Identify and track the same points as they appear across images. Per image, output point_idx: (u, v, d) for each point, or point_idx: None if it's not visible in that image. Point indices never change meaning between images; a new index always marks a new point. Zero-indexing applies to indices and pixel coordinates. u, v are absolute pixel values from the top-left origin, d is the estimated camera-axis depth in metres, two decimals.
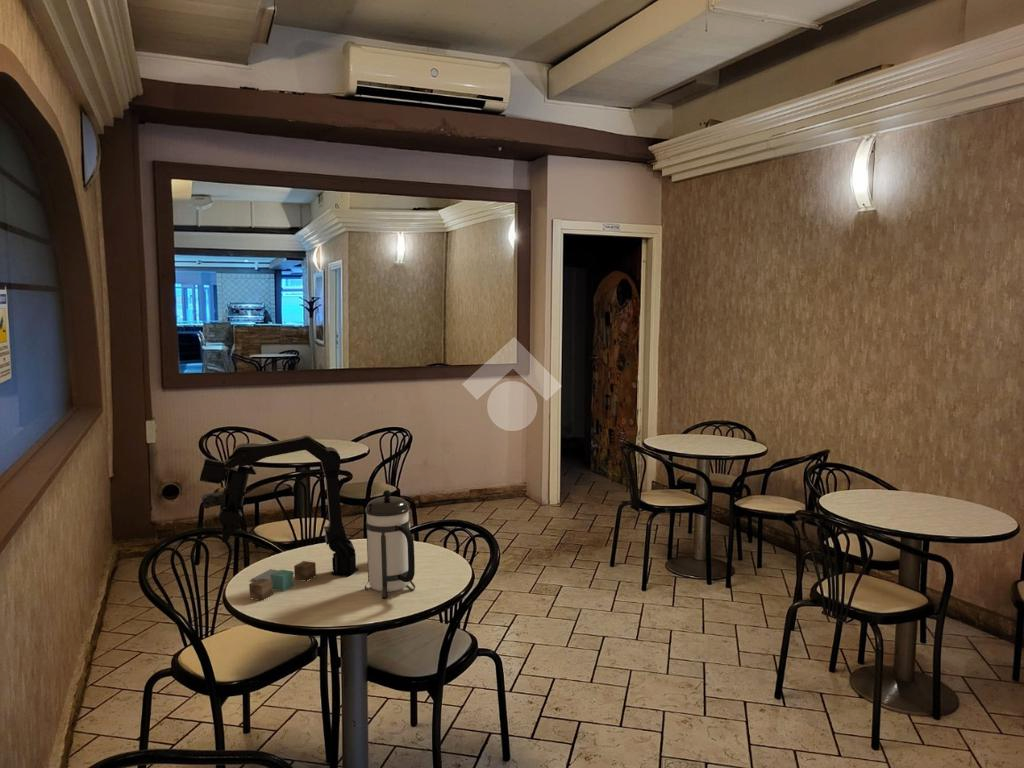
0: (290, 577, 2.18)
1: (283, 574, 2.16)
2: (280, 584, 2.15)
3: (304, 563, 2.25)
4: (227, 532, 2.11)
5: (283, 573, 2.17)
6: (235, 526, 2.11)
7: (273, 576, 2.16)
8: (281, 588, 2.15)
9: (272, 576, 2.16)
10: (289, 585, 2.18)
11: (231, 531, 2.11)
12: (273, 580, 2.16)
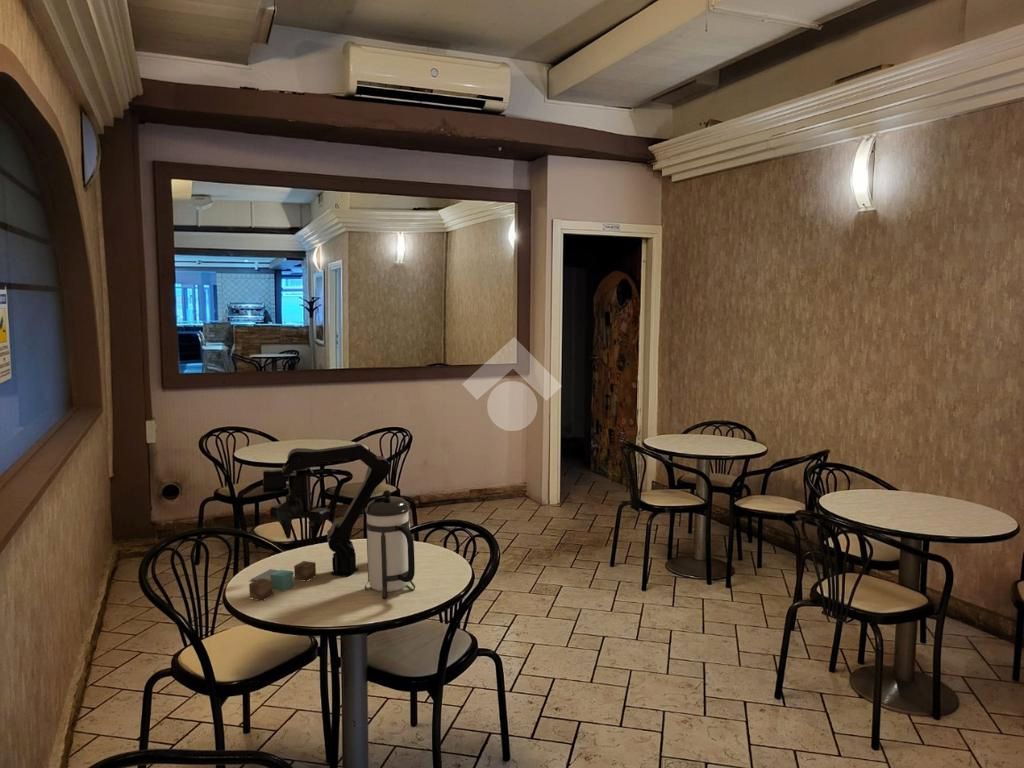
0: (290, 577, 2.18)
1: (283, 574, 2.16)
2: (280, 584, 2.15)
3: (304, 563, 2.25)
4: (316, 531, 2.22)
5: (283, 573, 2.17)
6: (321, 522, 2.23)
7: (273, 576, 2.16)
8: (281, 588, 2.15)
9: (272, 576, 2.16)
10: (289, 585, 2.18)
11: (318, 528, 2.23)
12: (273, 580, 2.16)
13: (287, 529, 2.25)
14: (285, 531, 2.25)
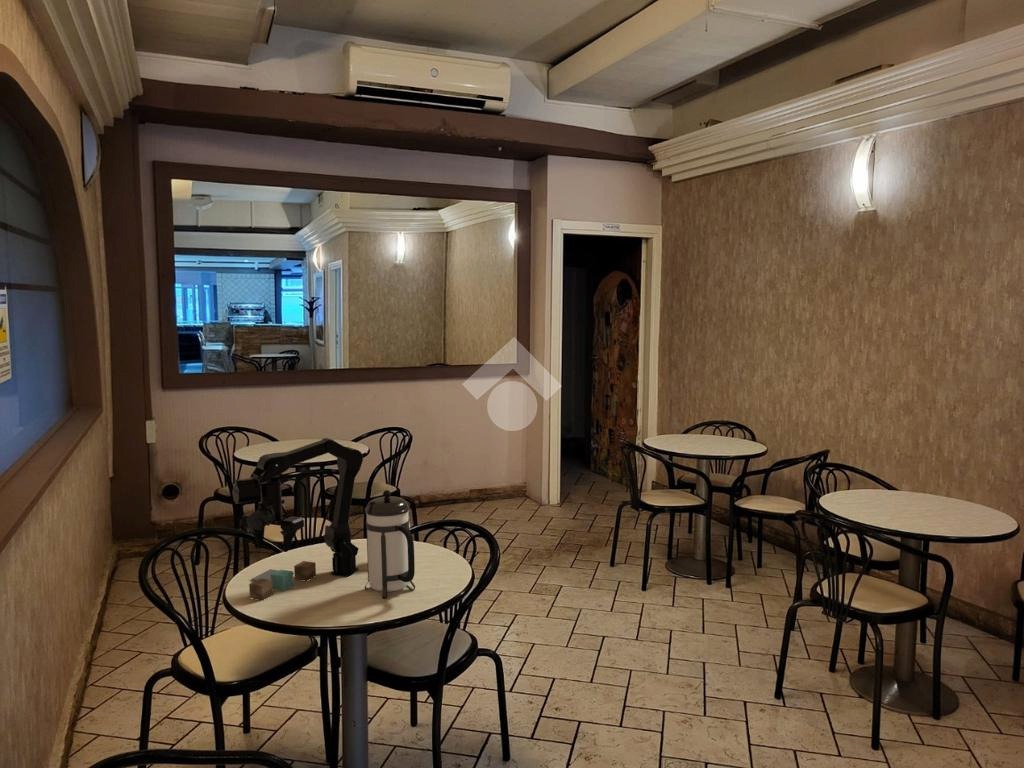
0: (290, 577, 2.18)
1: (283, 574, 2.16)
2: (280, 584, 2.15)
3: (304, 563, 2.25)
4: (289, 541, 2.12)
5: (283, 573, 2.17)
6: (295, 532, 2.13)
7: (273, 576, 2.16)
8: (281, 588, 2.15)
9: (272, 576, 2.16)
10: (289, 585, 2.18)
11: (292, 538, 2.13)
12: (273, 580, 2.16)
13: (259, 538, 2.16)
14: (257, 541, 2.15)
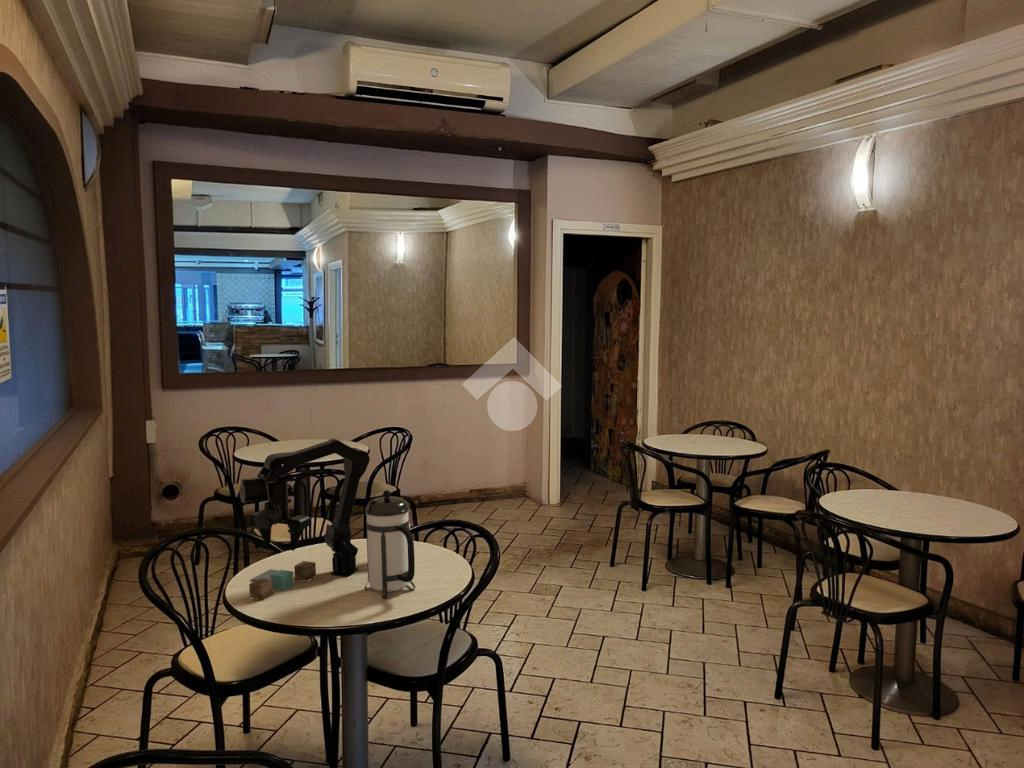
0: (290, 577, 2.18)
1: (283, 574, 2.16)
2: (280, 584, 2.15)
3: (304, 563, 2.25)
4: (296, 539, 2.15)
5: (283, 573, 2.17)
6: (302, 530, 2.16)
7: (273, 576, 2.16)
8: (281, 588, 2.15)
9: (272, 576, 2.16)
10: (289, 585, 2.18)
11: (299, 537, 2.15)
12: (273, 580, 2.16)
13: (266, 537, 2.18)
14: (264, 539, 2.17)
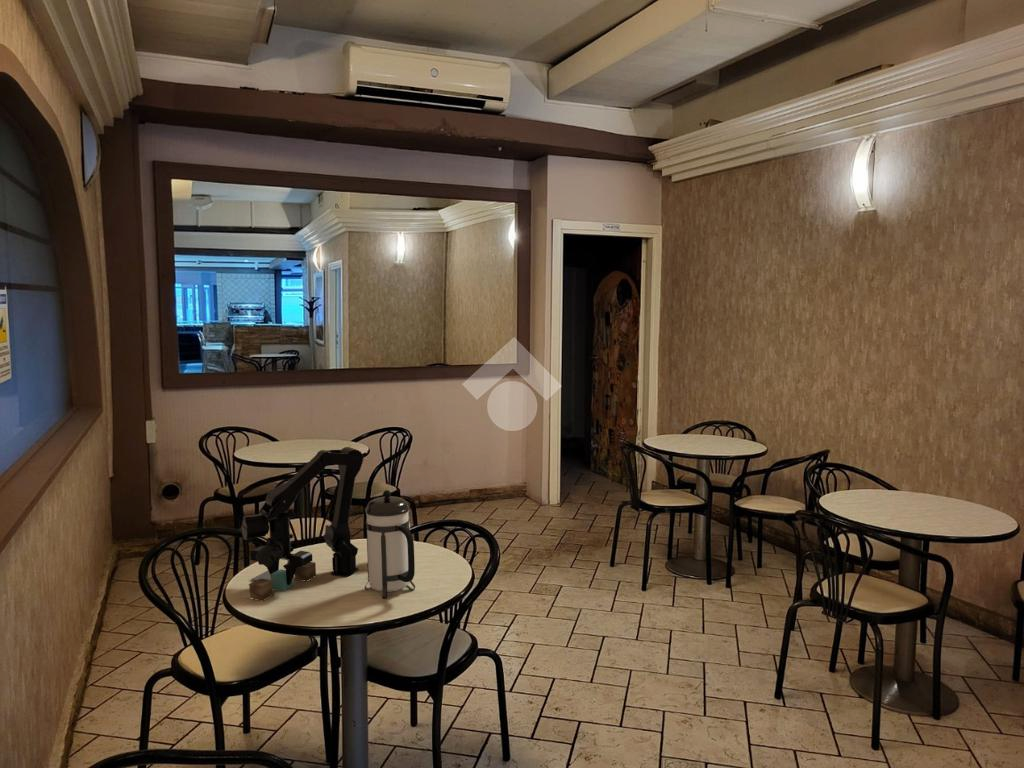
0: None
1: (283, 574, 2.16)
2: (280, 584, 2.15)
3: None
4: (292, 574, 2.17)
5: (283, 573, 2.17)
6: None
7: (273, 576, 2.16)
8: (281, 588, 2.15)
9: (272, 576, 2.16)
10: (289, 585, 2.18)
11: (294, 571, 2.17)
12: (273, 580, 2.16)
13: None
14: None
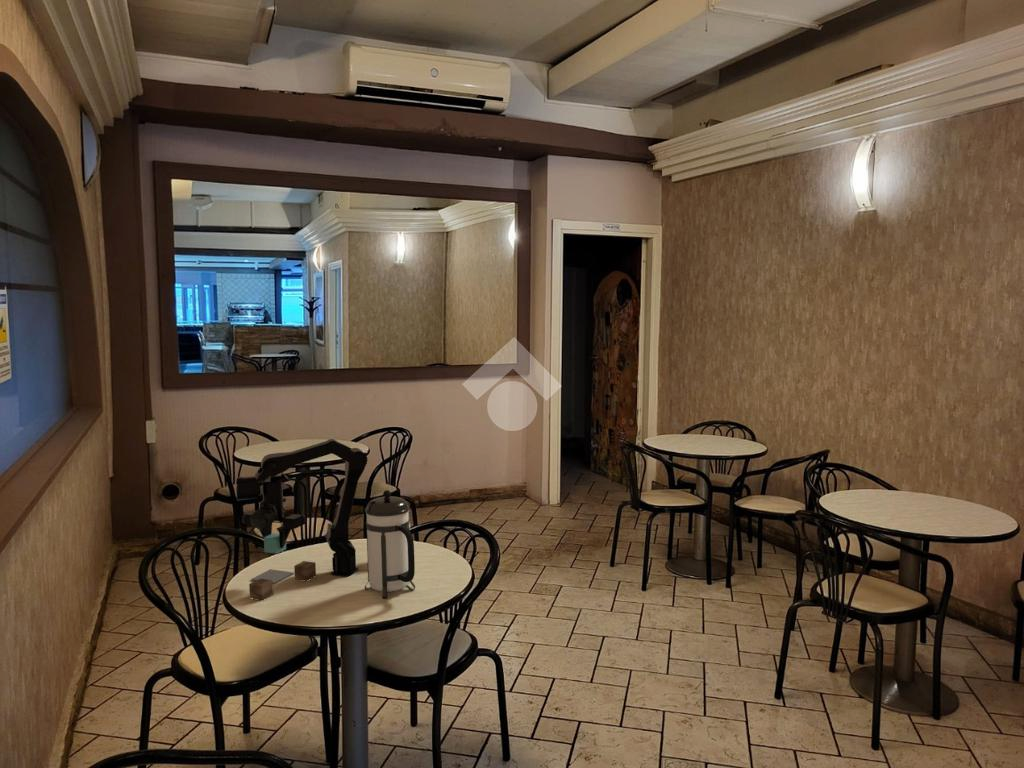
0: None
1: (276, 537, 2.19)
2: (273, 547, 2.18)
3: (304, 563, 2.25)
4: (285, 537, 2.19)
5: (276, 536, 2.20)
6: (290, 528, 2.21)
7: (266, 539, 2.19)
8: (274, 551, 2.18)
9: (265, 539, 2.19)
10: (282, 548, 2.20)
11: (287, 535, 2.20)
12: (266, 543, 2.19)
13: None
14: None
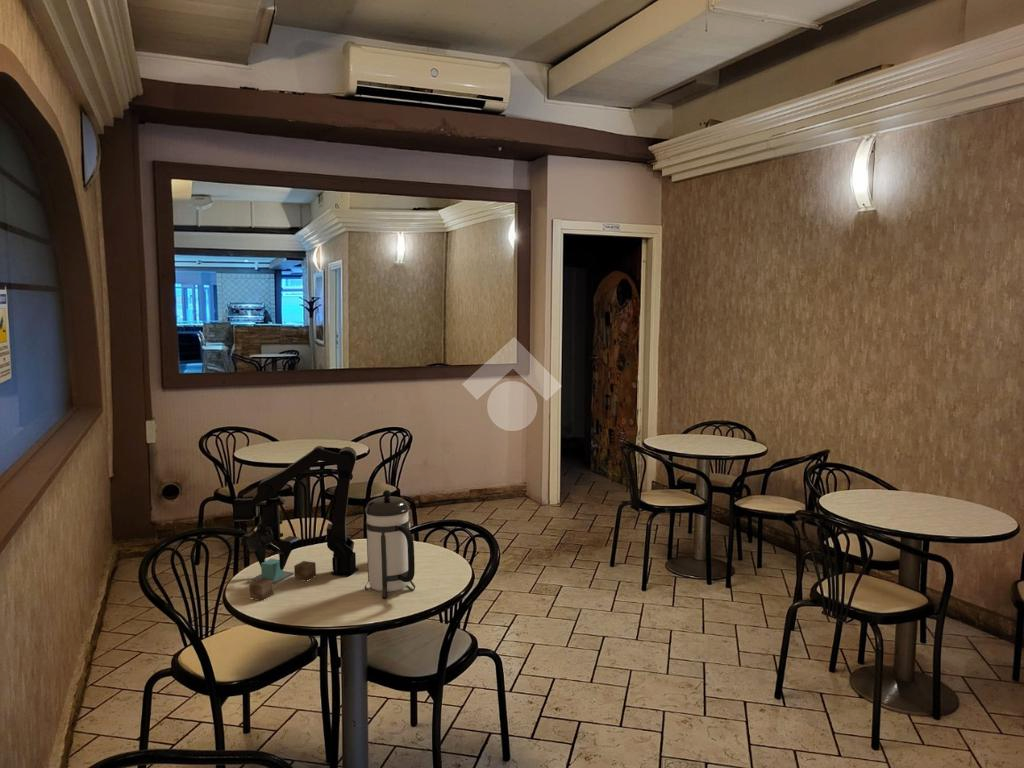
0: None
1: (273, 563, 2.24)
2: (270, 572, 2.23)
3: (304, 563, 2.25)
4: (285, 559, 2.24)
5: (273, 562, 2.25)
6: (290, 550, 2.25)
7: (263, 565, 2.24)
8: (271, 576, 2.23)
9: (262, 565, 2.24)
10: (279, 573, 2.25)
11: (287, 556, 2.25)
12: (263, 569, 2.24)
13: (261, 557, 2.26)
14: (259, 559, 2.26)
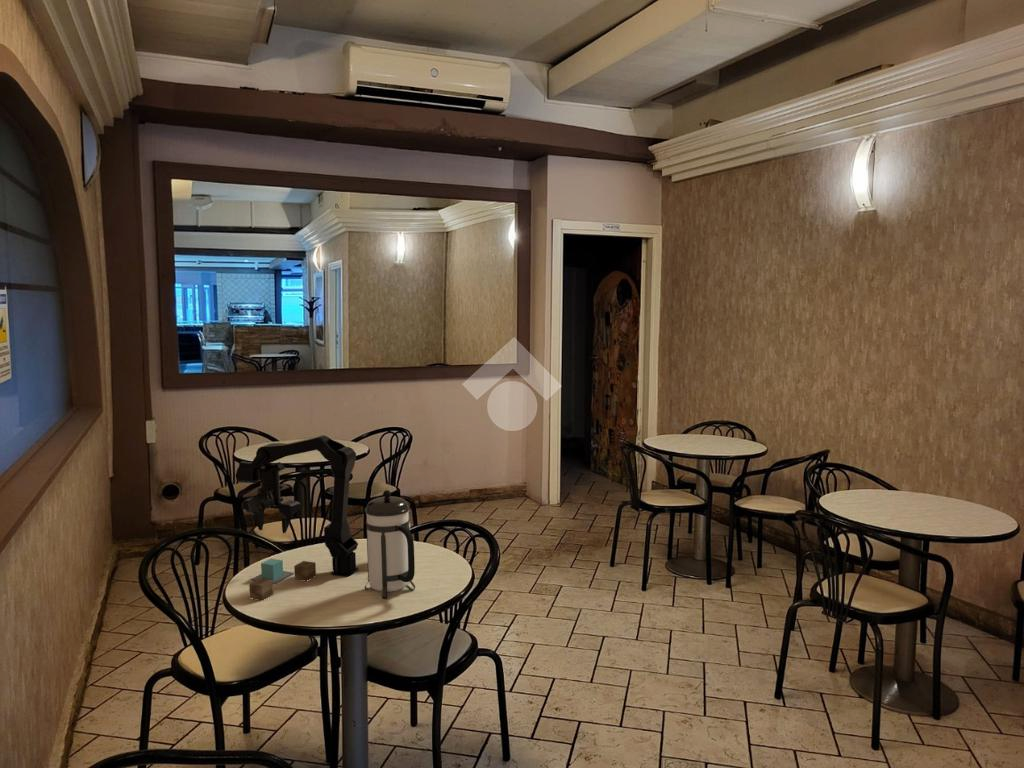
0: (280, 566, 2.26)
1: (273, 563, 2.24)
2: (270, 572, 2.23)
3: (304, 563, 2.25)
4: (287, 523, 2.31)
5: (273, 562, 2.25)
6: (292, 514, 2.32)
7: (263, 565, 2.24)
8: (271, 576, 2.23)
9: (262, 565, 2.24)
10: (279, 573, 2.25)
11: (289, 520, 2.32)
12: (263, 569, 2.24)
13: (259, 521, 2.34)
14: (257, 523, 2.34)
